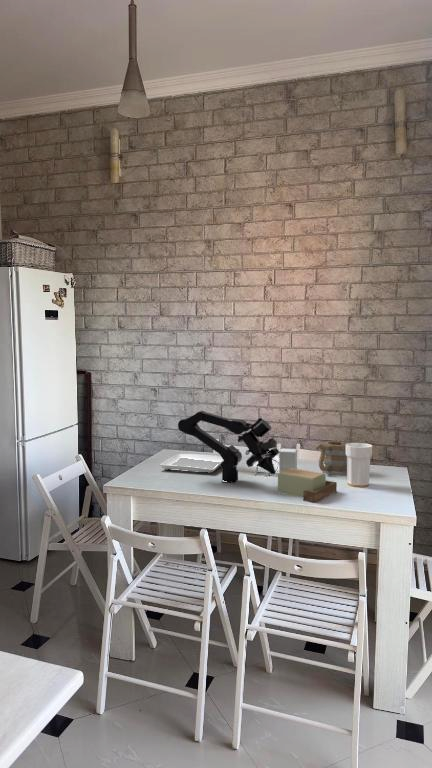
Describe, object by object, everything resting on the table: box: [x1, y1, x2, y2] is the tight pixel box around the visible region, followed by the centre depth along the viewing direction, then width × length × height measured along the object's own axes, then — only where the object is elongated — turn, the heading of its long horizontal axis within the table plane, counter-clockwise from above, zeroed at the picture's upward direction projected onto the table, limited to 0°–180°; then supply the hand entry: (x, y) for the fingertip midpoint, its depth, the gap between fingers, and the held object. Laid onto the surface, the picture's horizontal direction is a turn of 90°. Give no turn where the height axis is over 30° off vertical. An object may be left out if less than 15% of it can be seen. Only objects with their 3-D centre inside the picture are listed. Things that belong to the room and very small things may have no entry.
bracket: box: [302, 480, 338, 504], centre depth 225 cm, size 5×19×4 cm, turn 144°
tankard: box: [314, 440, 348, 477], centre depth 263 cm, size 20×13×15 cm, turn 122°
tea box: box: [277, 468, 327, 498], centre depth 230 cm, size 16×11×8 cm
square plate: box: [159, 453, 224, 474], centre depth 275 cm, size 27×27×4 cm
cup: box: [346, 442, 373, 488], centre depth 243 cm, size 11×11×17 cm
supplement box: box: [278, 448, 298, 473], centre depth 255 cm, size 7×7×13 cm
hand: (274, 473), depth 237 cm, fingers closed
